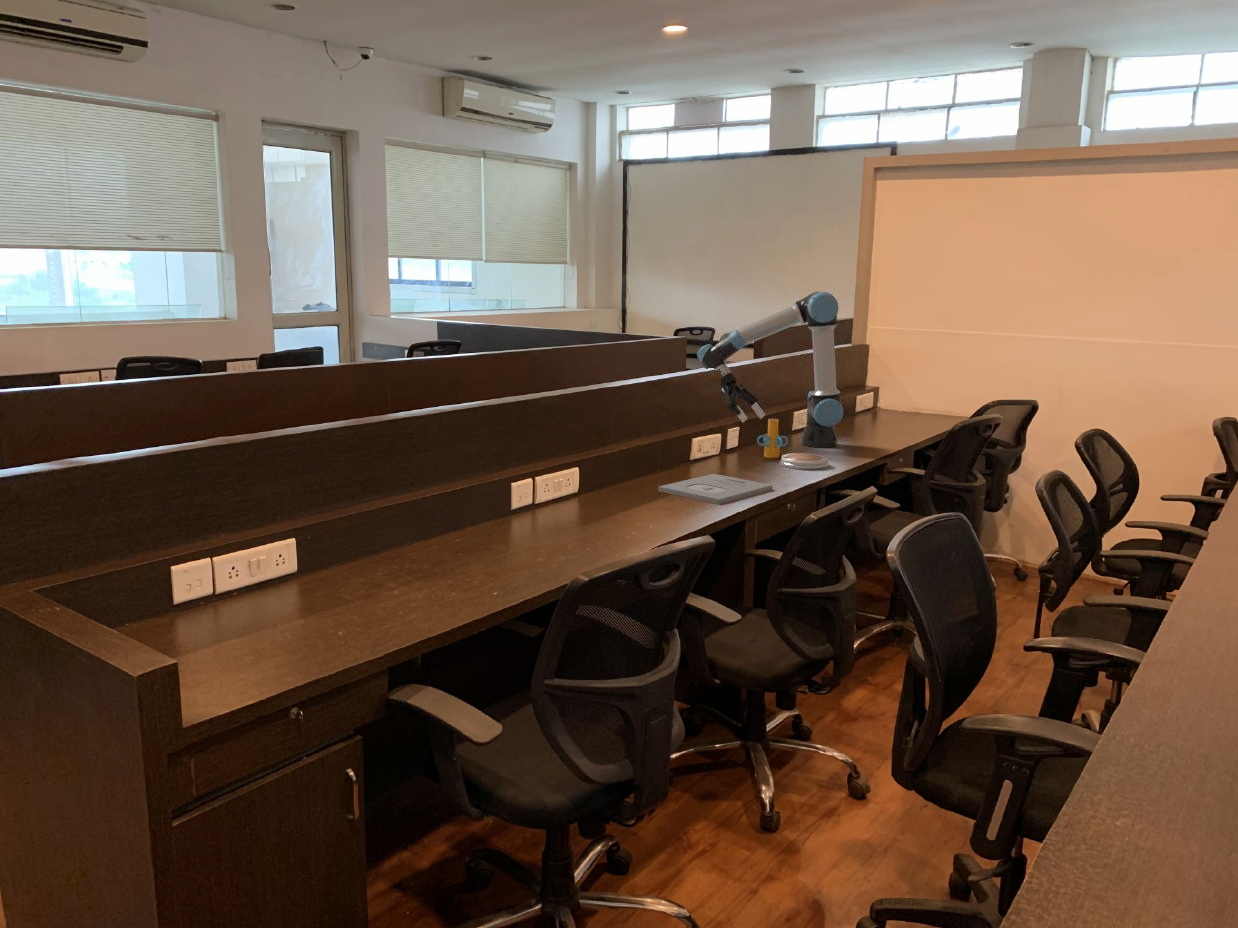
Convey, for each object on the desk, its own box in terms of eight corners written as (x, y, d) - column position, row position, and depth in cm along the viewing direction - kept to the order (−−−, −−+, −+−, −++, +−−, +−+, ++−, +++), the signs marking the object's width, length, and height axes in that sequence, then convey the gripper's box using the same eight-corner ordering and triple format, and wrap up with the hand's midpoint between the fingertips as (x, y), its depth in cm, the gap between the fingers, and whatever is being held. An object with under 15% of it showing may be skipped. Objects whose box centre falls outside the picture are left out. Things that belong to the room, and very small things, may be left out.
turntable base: (819, 460, 362) (819, 456, 361) (834, 470, 344) (834, 466, 344) (774, 460, 360) (774, 457, 359) (787, 470, 342) (787, 466, 342)
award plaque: (772, 491, 310) (772, 484, 310) (718, 505, 288) (718, 499, 288) (713, 479, 326) (713, 473, 326) (658, 492, 305) (658, 486, 304)
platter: (818, 457, 361) (819, 452, 360) (833, 465, 344) (833, 461, 344) (776, 457, 359) (776, 452, 359) (788, 465, 342) (788, 461, 342)
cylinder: (786, 455, 372) (788, 418, 369) (788, 460, 362) (790, 422, 359) (755, 453, 373) (757, 417, 370) (756, 458, 363) (758, 421, 360)
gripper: (734, 381, 388) (764, 421, 381) (701, 386, 369) (731, 427, 362) (746, 370, 383) (776, 409, 377) (712, 374, 364) (743, 415, 358)
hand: (754, 418), depth 370 cm, fingers open, 13 cm apart
